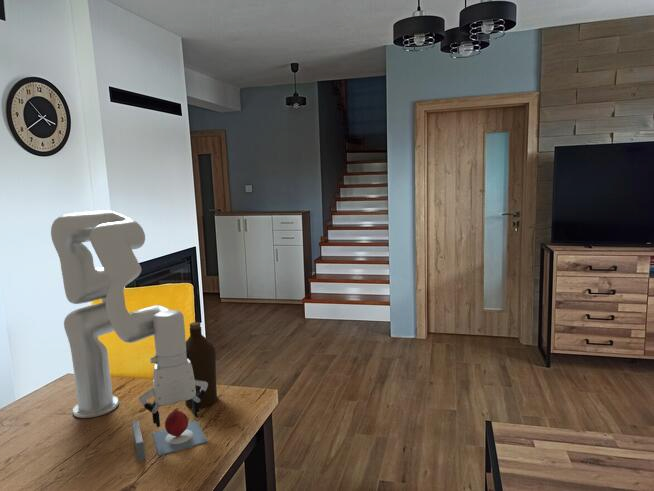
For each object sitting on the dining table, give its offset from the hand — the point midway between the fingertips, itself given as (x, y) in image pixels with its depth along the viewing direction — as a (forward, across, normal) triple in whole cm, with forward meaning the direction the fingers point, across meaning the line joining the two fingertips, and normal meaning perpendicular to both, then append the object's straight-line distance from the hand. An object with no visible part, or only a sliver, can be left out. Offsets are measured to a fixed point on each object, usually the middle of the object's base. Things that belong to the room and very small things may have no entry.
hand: (177, 419), depth 123 cm
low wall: (+5, -10, 0) cm, 11 cm away
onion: (+5, 0, 0) cm, 5 cm away
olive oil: (+5, +10, +18) cm, 21 cm away
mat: (+5, 0, 0) cm, 5 cm away
